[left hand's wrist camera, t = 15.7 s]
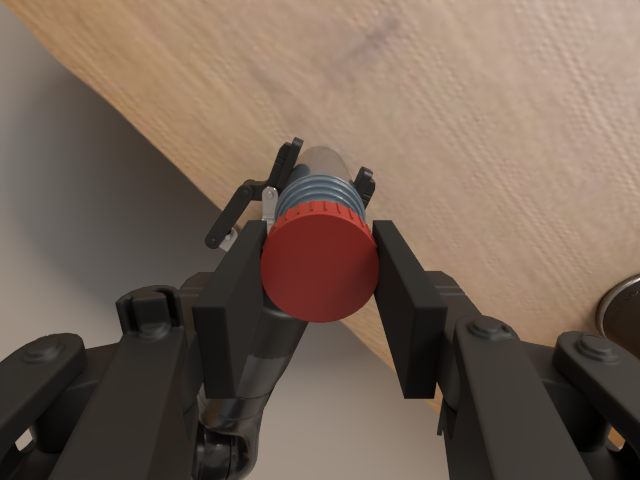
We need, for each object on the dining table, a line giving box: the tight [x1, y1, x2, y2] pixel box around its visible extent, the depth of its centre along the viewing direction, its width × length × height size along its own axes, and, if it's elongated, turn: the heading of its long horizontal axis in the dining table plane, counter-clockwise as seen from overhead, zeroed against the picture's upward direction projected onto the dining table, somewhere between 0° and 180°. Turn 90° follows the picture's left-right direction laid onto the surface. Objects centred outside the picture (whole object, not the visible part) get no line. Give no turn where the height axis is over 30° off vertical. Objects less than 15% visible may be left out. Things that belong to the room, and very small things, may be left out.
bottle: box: [274, 146, 366, 224], centre depth 23 cm, size 5×5×21 cm
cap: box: [260, 200, 379, 323], centre depth 13 cm, size 4×4×2 cm
